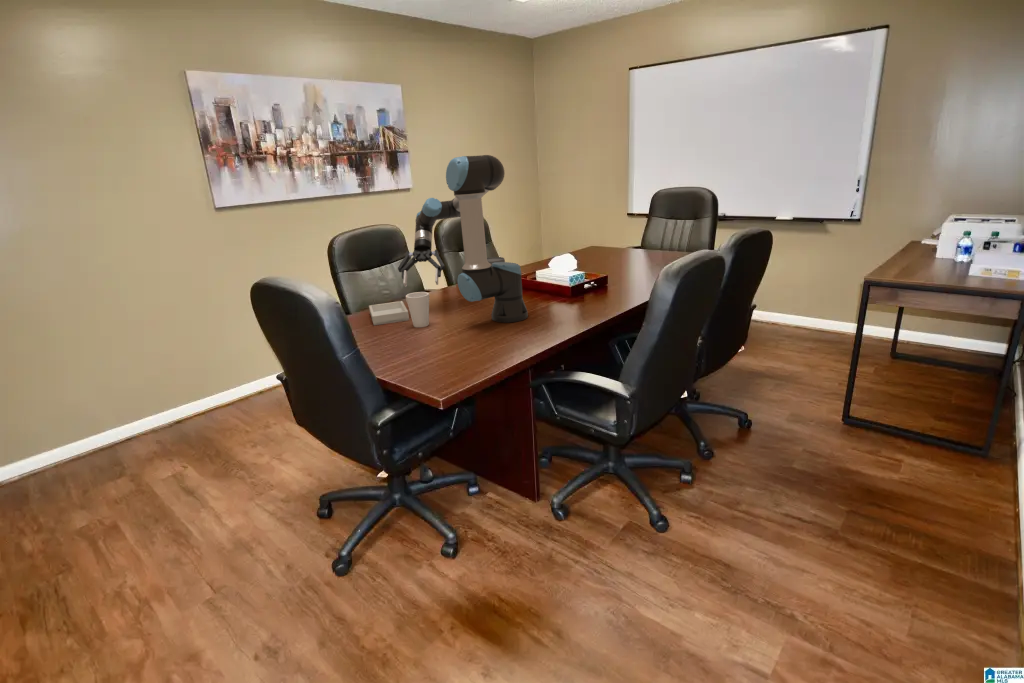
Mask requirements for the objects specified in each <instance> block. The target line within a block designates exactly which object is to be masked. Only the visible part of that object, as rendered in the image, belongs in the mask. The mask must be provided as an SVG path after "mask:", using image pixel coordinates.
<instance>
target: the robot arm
mask: <svg viewBox="0 0 1024 683" xmlns="http://www.w3.org/2000/svg"><path fill="white" fill-rule="evenodd" d="M445 171H446V172H445V179H446V185H447V187H448V189H449V190H450V191H453V196H454V198H453V199H451V200H445V201H444V200H443V201H441V200H439V199H437V198H435V197H429V198H426V200H425V201H424V204H422V208H421V211H419V212H417V213H416V217H415V229H414V230H415V232H414V245H413V252H410V251H409V250H407V251H406V252H405V256H404V257H403V259H402V260H401V262H400V264H399V265H398V267H397V270H398V272H399V273H401V279H403V285H404V287H408V286H407V285H408V271H409V270H410V269H411V268H412V267H413V266H414V265H415V264H417V263H418V262H419V263H422V262H428V263H430V264H431V265H432V267H434V268H435V275H434V276H435V281H434V282H435V285H437V286H439V278H441V277H442V271H444V270H446V266H445V264H444V261H443V260H442V259H441V256H440V255H439V251H438V249H434V251H433V250H432V244H433V243H432V242H433V228H434V225H435V224H436V221H438V220H446V219H455V218H460V226H461V235H462V243H463V244H462V245H463V253H464V255H463V256H464V264H463V266H462V267H461V270H462V272H461V273H460V274H458V276H457V287H458V290H459V292H460V294H461V296H462V297H463V298H464V299H465V300H466V301H468V302H481V301H482V300H486V299H490V298H494V303H493V305H492V306H493V307H492V310H491V319H492V321H494V322H497V323H516V322H521V321H524V320H526V319H527V318H528V317H529V314H528V309H527V306H526V304H525V301H524V299H523V298H524V297H523V285H522V284H523V282H522V280H523V279H522V269H521V266H520V265H519V264H518V263H515V262H509V261H505V262H495V263H492V266H491V264H490V263H489V262H488V261H487V258H488V254H487V253H488V252H487V245H486V243H487V242H486V235H485V234H486V233H485V222H484V214H483V213H484V212H483V201H482V200H483V199H482V198H483V197H484V196H485V195H486V194H487V193H489V192H491V191H494V190H496V189H498V188H499V186H500V185H501V184H502V183H503V181H504V178H505V168H504V166H503V163H502V162H501V161H500V159H499V158H497V157H496V156H494V155H490V154H483V155H462V156H458V157H453V158H452V159H451V160H449V162H448V164H447V167H446V170H445ZM432 256H434V257H435V258H436V260H437V261H438V263H437V262H436V261H435V260H434V259H433V258H432Z"/></svg>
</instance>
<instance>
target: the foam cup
mask: <svg viewBox="0 0 1024 683" xmlns="http://www.w3.org/2000/svg"><path fill="white" fill-rule="evenodd" d="M405 301H406V303H407V306H408V312H409V314H410V317H411V321H412V326H413V328H425V327H427V326H429V325H430V324H429V323H430V293H429V292H426V291H418V292H417V291H416V292H410V293H407V294H406V295H405Z"/></svg>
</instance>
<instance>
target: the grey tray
mask: <svg viewBox="0 0 1024 683" xmlns="http://www.w3.org/2000/svg"><path fill="white" fill-rule="evenodd" d="M368 308H369V309H368V310H369V315H370V316H371V317H370V318H371V321H372V323H373V326H381V325H386V324H387V325H388V324H394V323H399V322H400V323H401V322H406V321H407V322H408V321H410V315H409V314H410V313H409V309H408V308H407V307H406V305H405V303H404V301H402V300H400V301H393V302H386V303H384V302H383V303H378V304H371V305H368Z"/></svg>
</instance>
